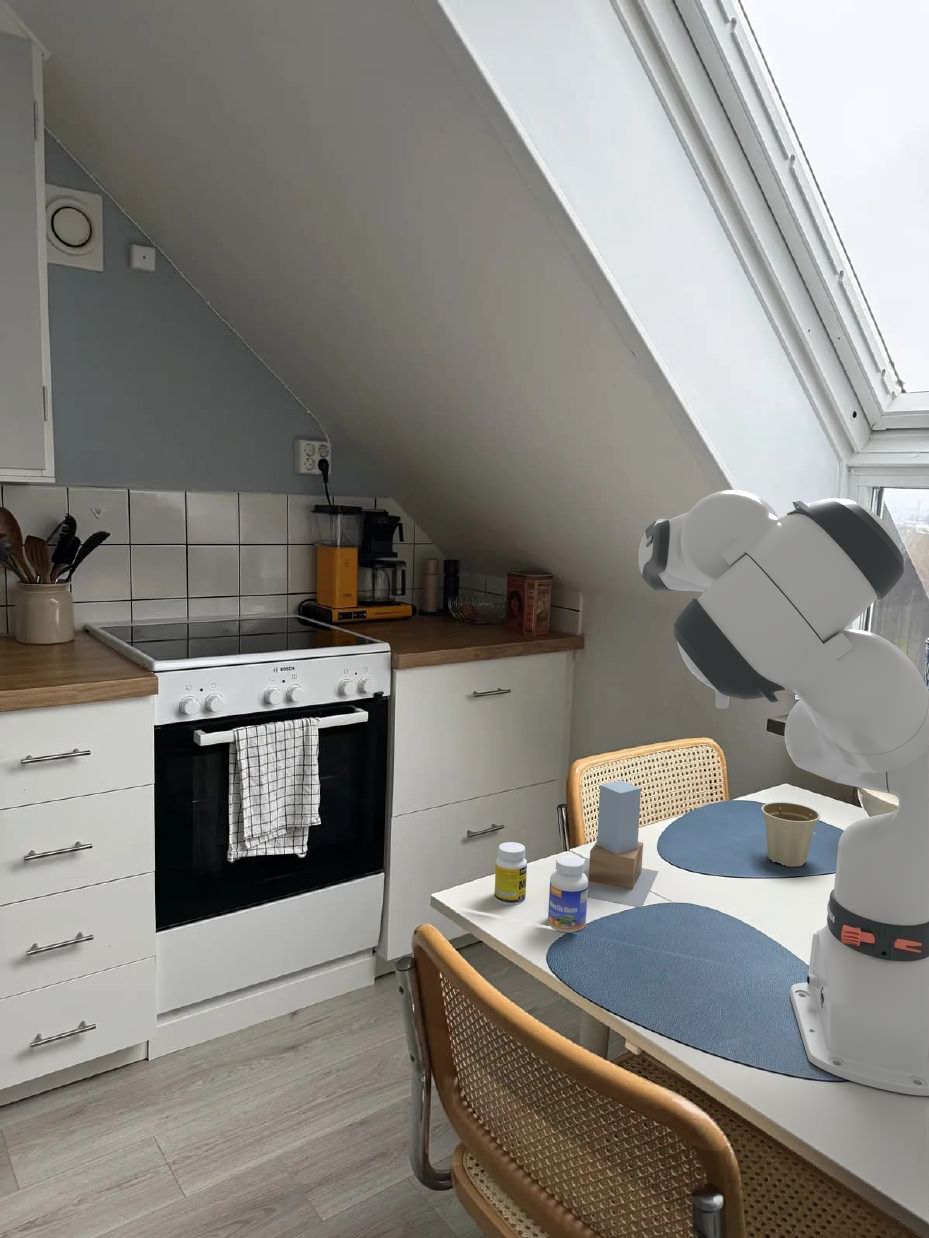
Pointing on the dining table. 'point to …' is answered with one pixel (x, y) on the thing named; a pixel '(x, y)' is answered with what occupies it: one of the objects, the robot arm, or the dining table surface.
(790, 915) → the dining table surface
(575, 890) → the pill bottle
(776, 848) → the flower pot
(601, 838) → the slate pillar
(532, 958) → the dining table surface
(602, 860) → the walnut block
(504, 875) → the supplement bottle
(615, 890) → the mat
